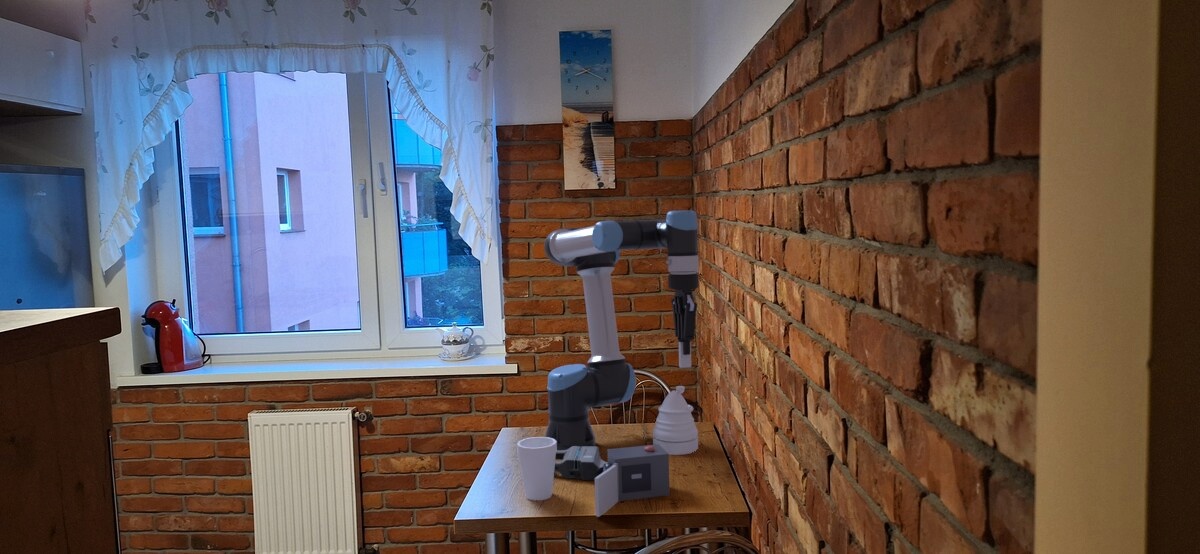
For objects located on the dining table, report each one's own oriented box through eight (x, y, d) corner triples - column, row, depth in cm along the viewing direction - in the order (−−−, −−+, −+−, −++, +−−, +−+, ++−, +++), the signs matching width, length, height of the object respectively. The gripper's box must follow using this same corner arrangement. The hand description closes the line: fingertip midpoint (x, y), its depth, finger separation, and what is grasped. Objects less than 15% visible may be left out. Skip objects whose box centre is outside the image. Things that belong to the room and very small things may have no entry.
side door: (619, 501, 169) (618, 463, 169) (599, 517, 160) (598, 477, 159) (616, 500, 170) (614, 462, 169) (595, 517, 160) (594, 477, 160)
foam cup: (534, 486, 181) (532, 435, 181) (565, 492, 177) (563, 439, 176) (511, 499, 173) (509, 445, 172) (543, 505, 169) (541, 450, 168)
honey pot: (706, 445, 211) (704, 384, 210) (684, 457, 200) (683, 393, 199) (667, 439, 218) (666, 379, 217) (644, 450, 208) (643, 388, 207)
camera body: (601, 490, 177) (600, 446, 177) (659, 483, 180) (658, 441, 180) (609, 502, 169) (608, 456, 168) (669, 495, 172) (668, 450, 172)
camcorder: (597, 458, 203) (597, 440, 202) (614, 482, 183) (613, 462, 182) (539, 464, 199) (538, 446, 199) (550, 489, 179) (549, 469, 179)
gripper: (660, 272, 186) (663, 363, 188) (676, 275, 173) (679, 372, 175) (688, 270, 188) (690, 361, 189) (706, 273, 175) (708, 370, 176)
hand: (685, 366), depth 182 cm, fingers closed
